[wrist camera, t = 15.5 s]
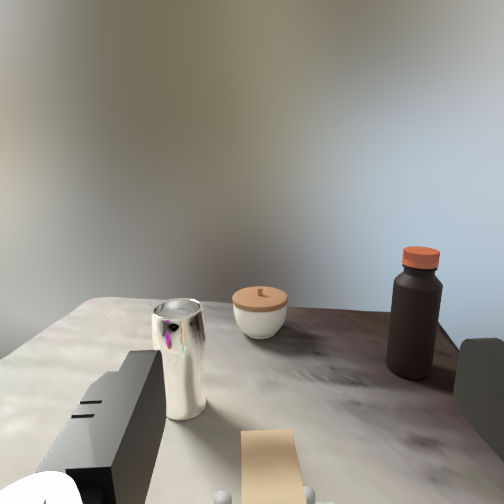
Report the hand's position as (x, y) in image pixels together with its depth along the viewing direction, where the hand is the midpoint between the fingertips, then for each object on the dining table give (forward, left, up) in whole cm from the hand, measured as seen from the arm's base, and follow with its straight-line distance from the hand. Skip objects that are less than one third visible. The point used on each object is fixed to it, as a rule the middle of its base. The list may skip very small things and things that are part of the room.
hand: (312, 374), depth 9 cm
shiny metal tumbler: (+9, +35, -28) cm, 45 cm away
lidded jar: (+30, +47, -28) cm, 62 cm away
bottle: (+43, +23, -28) cm, 56 cm away
